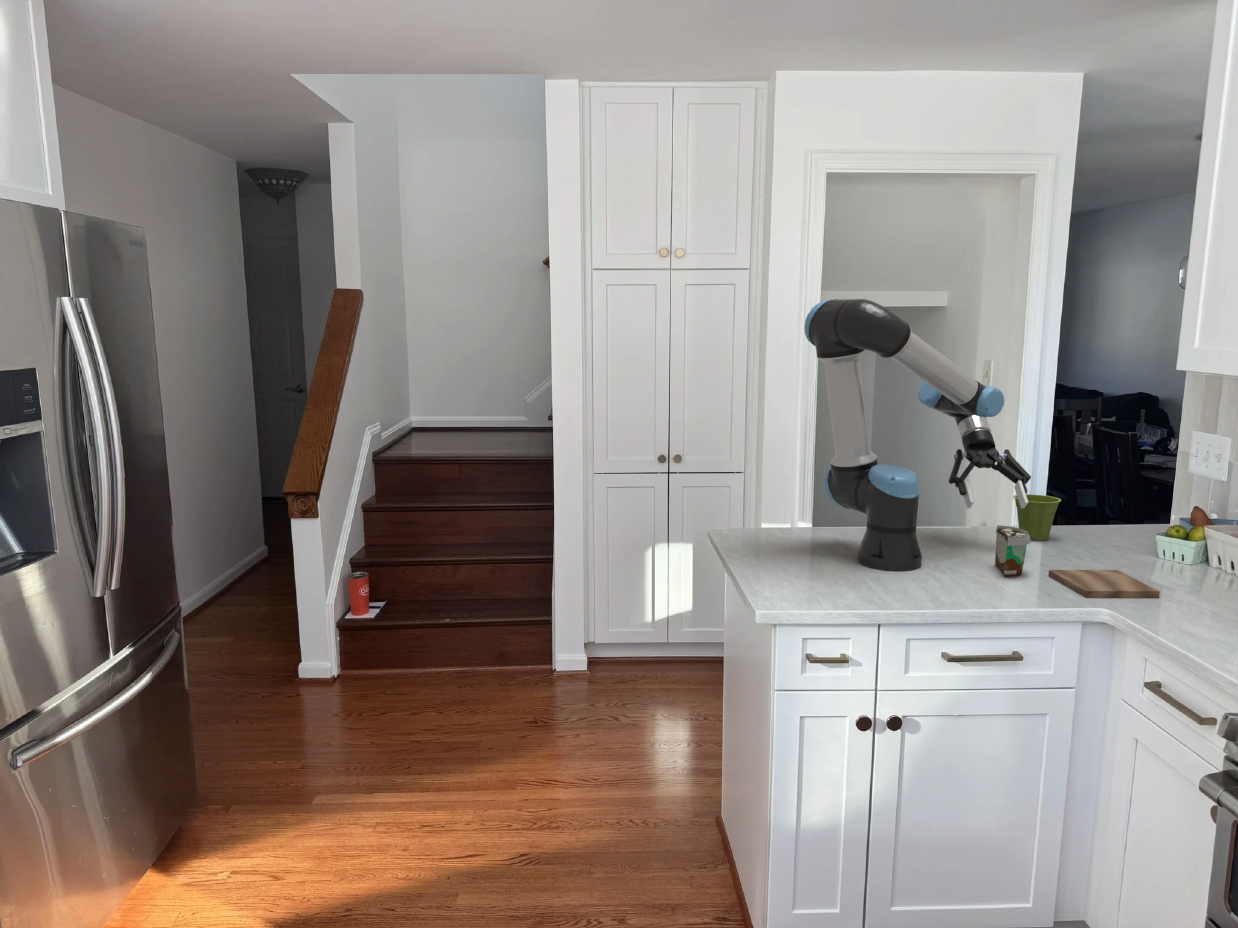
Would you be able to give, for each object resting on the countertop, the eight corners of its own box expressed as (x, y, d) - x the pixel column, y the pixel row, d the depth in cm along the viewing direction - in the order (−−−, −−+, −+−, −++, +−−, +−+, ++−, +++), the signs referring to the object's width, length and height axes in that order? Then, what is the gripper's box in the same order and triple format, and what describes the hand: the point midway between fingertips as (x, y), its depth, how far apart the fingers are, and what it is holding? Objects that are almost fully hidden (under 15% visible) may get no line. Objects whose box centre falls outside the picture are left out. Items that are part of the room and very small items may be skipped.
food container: (1033, 580, 198) (1037, 538, 196) (1005, 578, 199) (1008, 537, 198) (1020, 565, 210) (1023, 526, 208) (993, 564, 211) (996, 524, 209)
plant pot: (1059, 536, 239) (1062, 496, 237) (1055, 545, 229) (1059, 504, 227) (1012, 530, 245) (1016, 491, 243) (1007, 539, 235) (1010, 499, 233)
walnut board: (1085, 597, 186) (1086, 590, 186) (1048, 575, 202) (1049, 569, 201) (1159, 597, 186) (1159, 591, 186) (1116, 576, 202) (1116, 569, 202)
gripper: (1017, 445, 230) (1041, 513, 217) (925, 445, 229) (943, 513, 217) (1029, 428, 223) (1053, 497, 211) (933, 428, 223) (952, 497, 211)
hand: (997, 505), depth 214 cm, fingers open, 13 cm apart
